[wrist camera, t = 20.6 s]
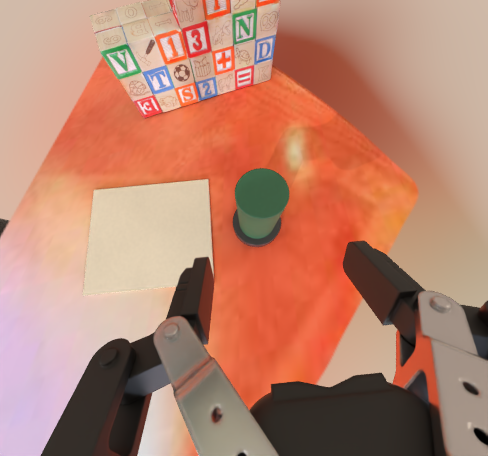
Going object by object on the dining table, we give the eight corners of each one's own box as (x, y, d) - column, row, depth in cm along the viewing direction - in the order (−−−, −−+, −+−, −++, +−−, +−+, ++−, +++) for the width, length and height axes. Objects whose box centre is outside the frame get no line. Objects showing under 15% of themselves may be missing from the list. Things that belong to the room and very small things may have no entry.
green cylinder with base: (235, 249, 24) (227, 232, 14) (231, 205, 26) (222, 162, 16) (282, 244, 24) (305, 224, 14) (275, 201, 26) (293, 156, 16)
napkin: (84, 295, 23) (82, 295, 23) (95, 190, 26) (93, 189, 26) (214, 282, 23) (213, 282, 23) (208, 179, 27) (208, 178, 26)
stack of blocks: (144, 120, 29) (72, 13, 17) (134, 91, 31) (62, -27, 19) (271, 79, 31) (286, -45, 19) (256, 53, 32) (262, -79, 20)
